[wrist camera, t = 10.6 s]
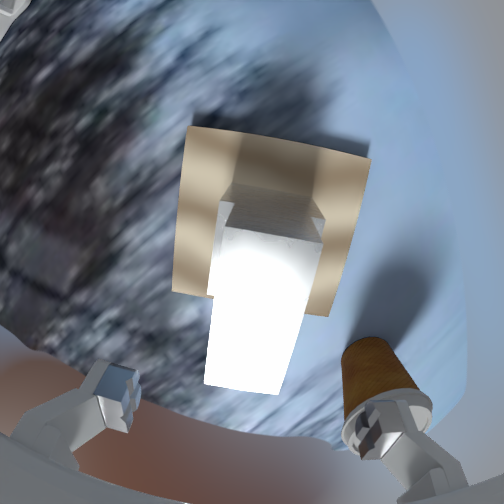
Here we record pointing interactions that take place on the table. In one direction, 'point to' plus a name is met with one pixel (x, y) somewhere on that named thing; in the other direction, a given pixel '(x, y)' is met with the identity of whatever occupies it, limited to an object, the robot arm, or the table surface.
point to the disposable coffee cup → (377, 385)
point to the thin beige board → (271, 177)
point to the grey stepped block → (260, 284)
